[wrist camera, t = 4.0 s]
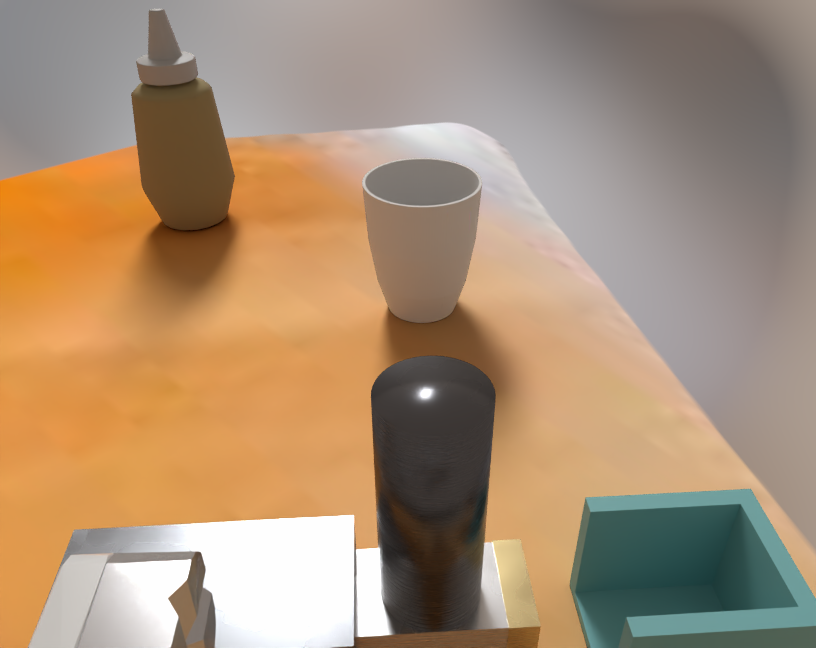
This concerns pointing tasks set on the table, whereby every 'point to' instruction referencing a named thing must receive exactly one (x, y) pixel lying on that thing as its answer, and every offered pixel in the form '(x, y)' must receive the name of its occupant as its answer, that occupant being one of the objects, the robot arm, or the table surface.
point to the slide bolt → (438, 519)
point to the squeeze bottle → (179, 135)
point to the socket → (687, 574)
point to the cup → (422, 233)
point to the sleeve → (259, 575)
